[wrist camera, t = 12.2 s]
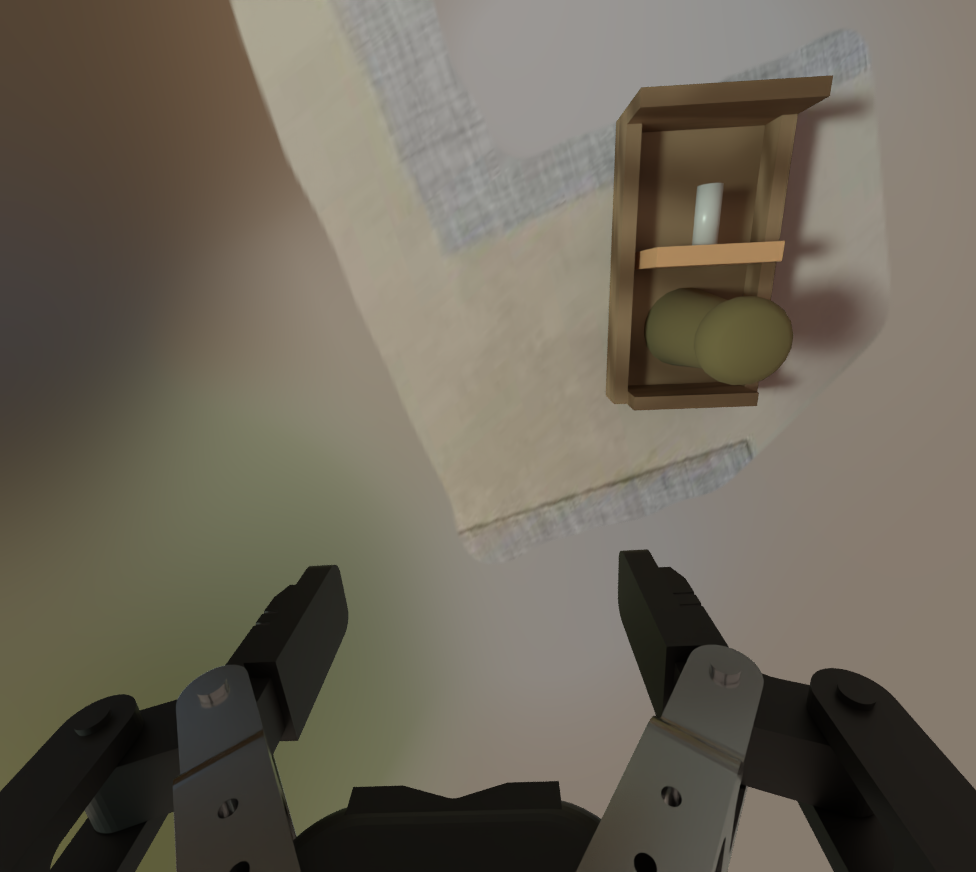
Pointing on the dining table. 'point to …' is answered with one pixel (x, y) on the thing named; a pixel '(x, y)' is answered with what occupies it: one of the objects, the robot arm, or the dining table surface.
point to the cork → (719, 334)
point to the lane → (671, 209)
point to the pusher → (709, 241)
